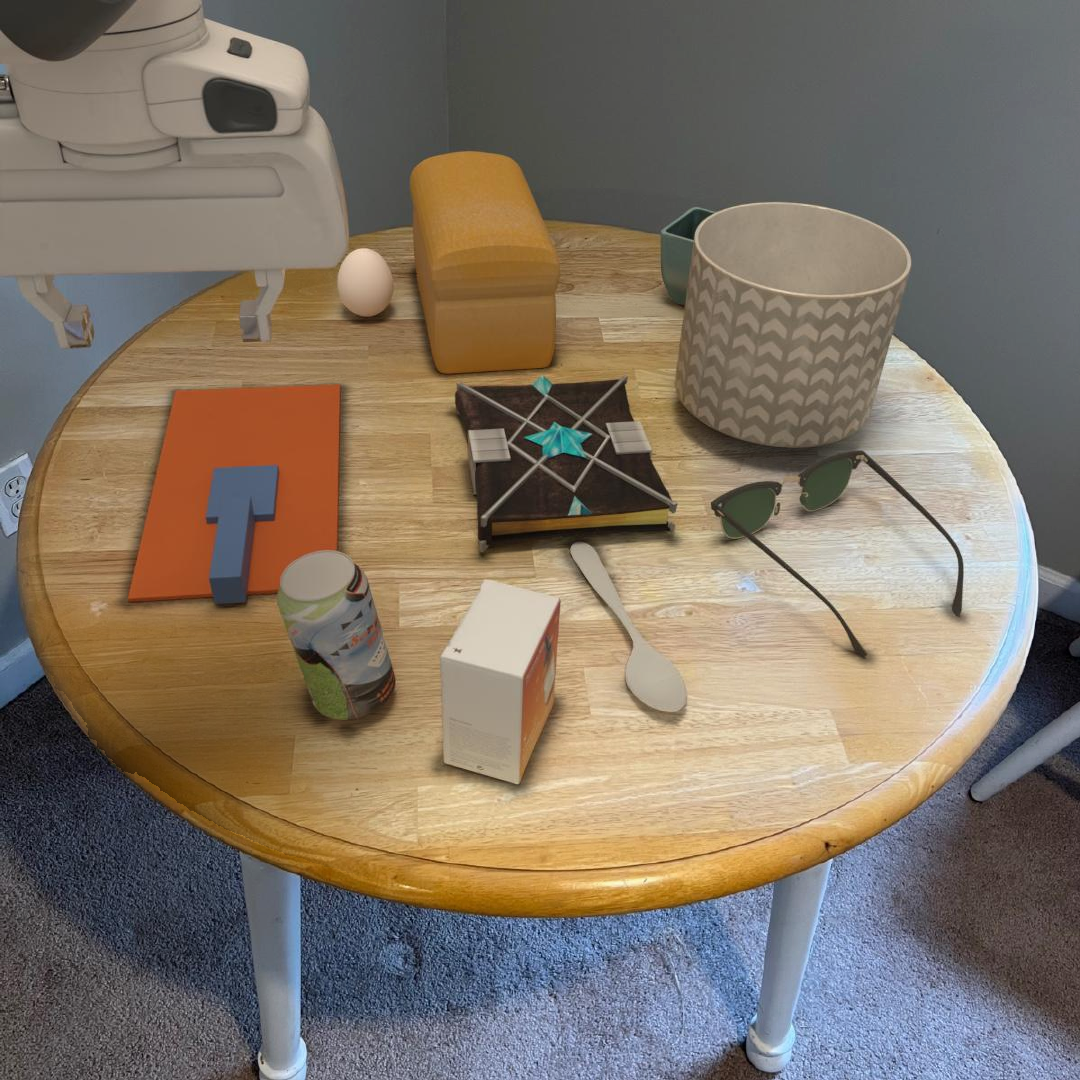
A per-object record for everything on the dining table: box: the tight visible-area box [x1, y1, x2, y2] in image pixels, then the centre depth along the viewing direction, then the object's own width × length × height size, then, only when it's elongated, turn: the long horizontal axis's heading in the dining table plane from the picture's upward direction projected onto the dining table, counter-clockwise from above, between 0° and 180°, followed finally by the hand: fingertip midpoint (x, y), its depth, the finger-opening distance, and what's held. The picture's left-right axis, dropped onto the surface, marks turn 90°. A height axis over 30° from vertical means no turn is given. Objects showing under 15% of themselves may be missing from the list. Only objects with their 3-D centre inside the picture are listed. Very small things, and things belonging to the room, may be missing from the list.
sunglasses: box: [710, 449, 965, 657], centre depth 89 cm, size 16×17×5 cm
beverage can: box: [276, 550, 396, 721], centre depth 75 cm, size 6×7×12 cm
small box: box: [439, 578, 562, 785], centre depth 73 cm, size 8×6×10 cm
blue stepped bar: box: [206, 465, 279, 605], centre depth 90 cm, size 17×6×3 cm, turn 7°
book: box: [454, 374, 678, 553], centre depth 98 cm, size 22×17×5 cm
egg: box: [336, 247, 395, 318], centre depth 119 cm, size 6×6×8 cm
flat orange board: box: [127, 383, 341, 603], centre depth 97 cm, size 30×16×1 cm, turn 7°
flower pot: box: [660, 206, 717, 307], centre depth 124 cm, size 9×9×9 cm
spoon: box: [570, 541, 688, 713], centre depth 84 cm, size 4×21×2 cm, turn 18°
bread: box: [409, 150, 561, 375], centre depth 117 cm, size 24×13×15 cm, turn 10°
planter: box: [674, 201, 912, 448], centre depth 102 cm, size 19×19×18 cm
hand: (169, 340), depth 59 cm, fingers open, 8 cm apart
